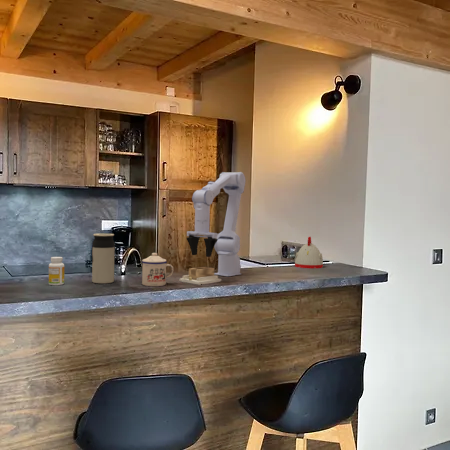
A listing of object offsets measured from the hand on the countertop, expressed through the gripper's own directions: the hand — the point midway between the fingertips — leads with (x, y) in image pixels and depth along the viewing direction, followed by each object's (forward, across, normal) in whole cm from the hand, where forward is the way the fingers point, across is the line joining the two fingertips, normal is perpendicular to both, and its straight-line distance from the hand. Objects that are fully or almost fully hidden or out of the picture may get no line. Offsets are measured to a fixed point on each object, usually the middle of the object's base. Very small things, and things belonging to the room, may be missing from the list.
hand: (201, 255), depth 192 cm
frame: (+9, 0, 0) cm, 9 cm away
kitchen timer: (+10, +4, +74) cm, 75 cm away
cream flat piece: (+10, 0, -1) cm, 10 cm away
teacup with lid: (+10, -5, -18) cm, 21 cm away
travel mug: (+10, -22, -30) cm, 38 cm away
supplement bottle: (+10, -29, -45) cm, 54 cm away
